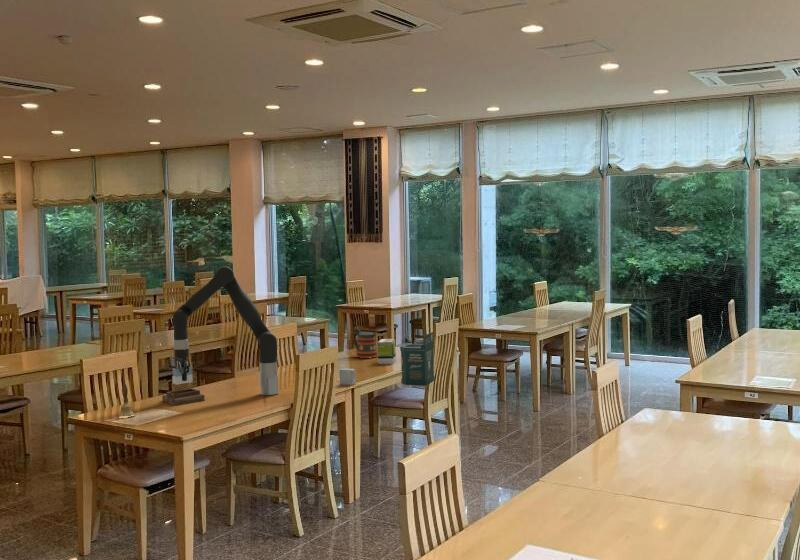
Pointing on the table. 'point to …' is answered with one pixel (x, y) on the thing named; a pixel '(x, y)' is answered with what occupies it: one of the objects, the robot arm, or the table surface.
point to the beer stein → (365, 344)
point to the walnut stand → (183, 396)
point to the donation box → (418, 362)
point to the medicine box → (347, 377)
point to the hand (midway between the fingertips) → (182, 380)
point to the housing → (178, 376)
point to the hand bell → (125, 403)
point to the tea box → (386, 351)
